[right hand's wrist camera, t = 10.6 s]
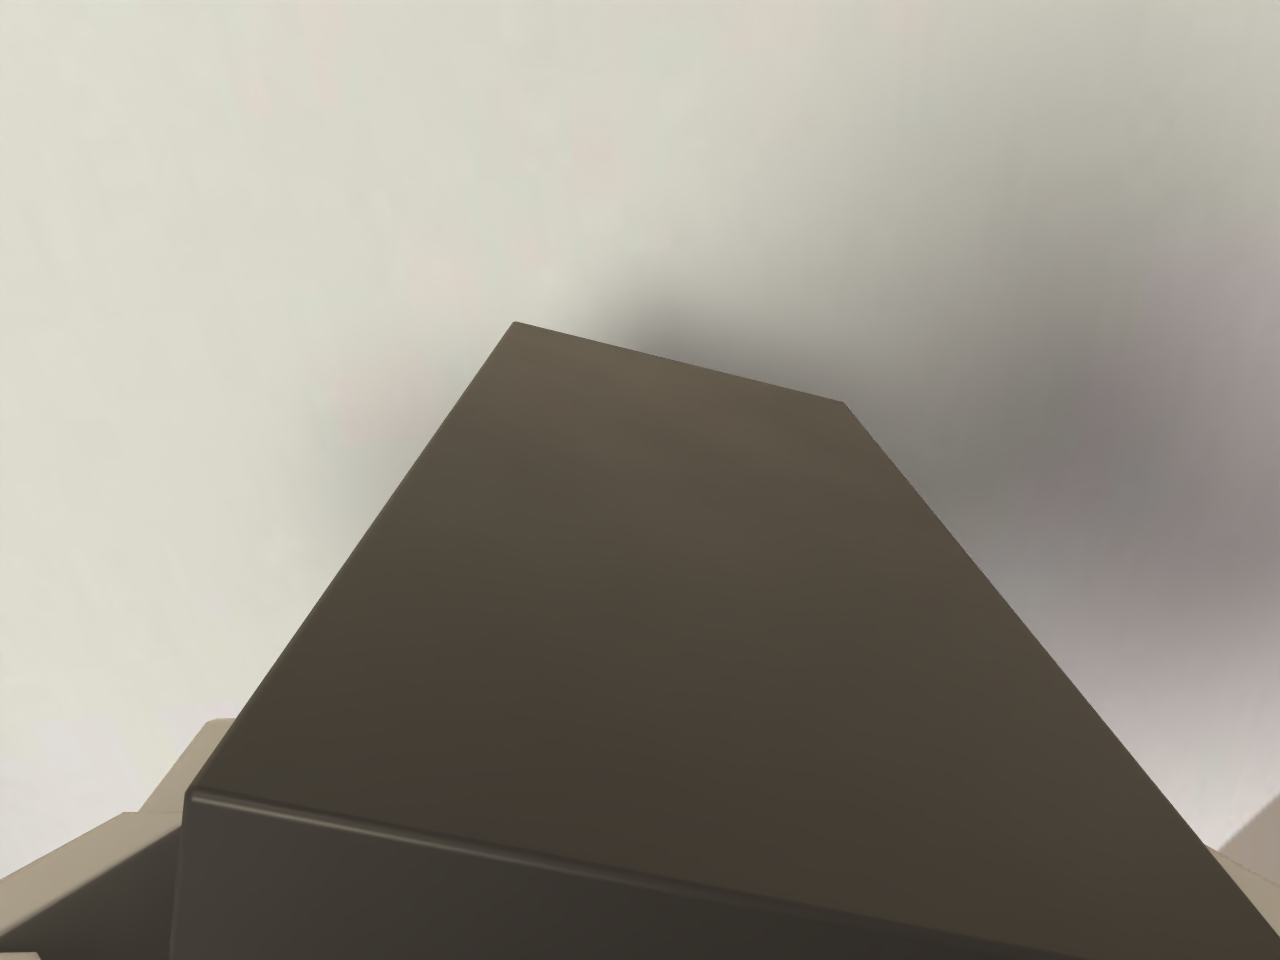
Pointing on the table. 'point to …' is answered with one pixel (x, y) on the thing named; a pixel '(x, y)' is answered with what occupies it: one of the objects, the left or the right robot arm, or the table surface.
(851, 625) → the box
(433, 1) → the table surface
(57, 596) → the table surface
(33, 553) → the table surface
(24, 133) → the table surface
